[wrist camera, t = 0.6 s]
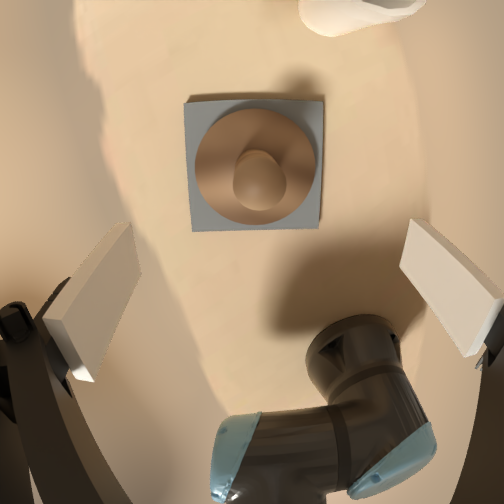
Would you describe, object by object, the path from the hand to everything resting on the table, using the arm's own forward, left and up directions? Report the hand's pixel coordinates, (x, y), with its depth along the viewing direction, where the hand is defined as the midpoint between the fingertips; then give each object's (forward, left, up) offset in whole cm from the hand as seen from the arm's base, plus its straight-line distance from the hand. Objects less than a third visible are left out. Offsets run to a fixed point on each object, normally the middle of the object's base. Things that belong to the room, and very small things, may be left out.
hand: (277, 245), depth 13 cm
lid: (+1, 0, -18) cm, 18 cm away
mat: (+1, 0, -19) cm, 19 cm away
